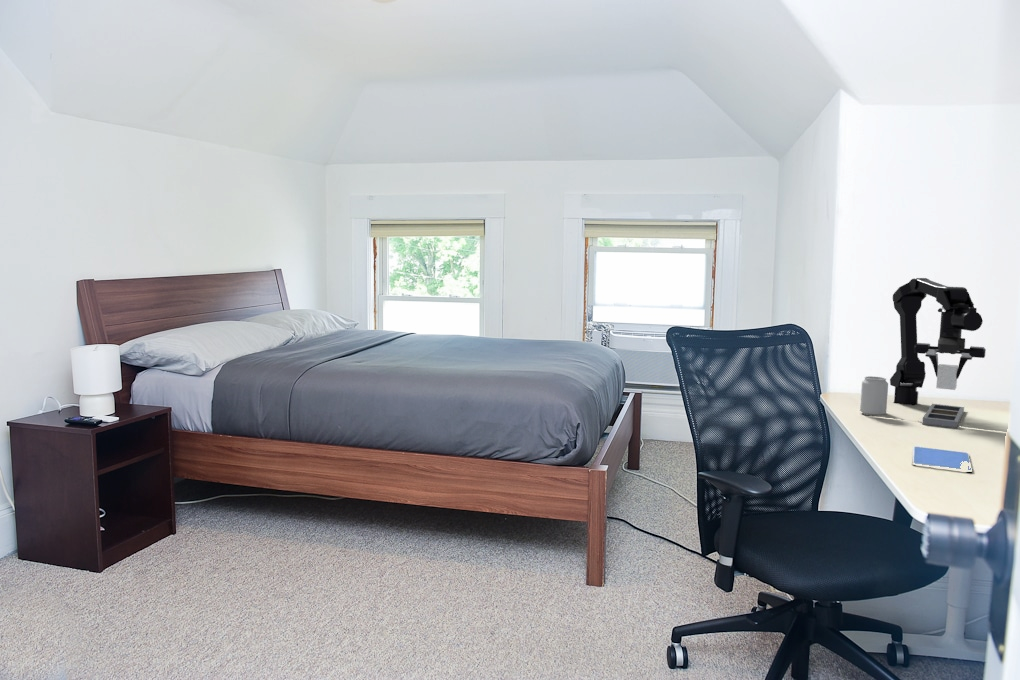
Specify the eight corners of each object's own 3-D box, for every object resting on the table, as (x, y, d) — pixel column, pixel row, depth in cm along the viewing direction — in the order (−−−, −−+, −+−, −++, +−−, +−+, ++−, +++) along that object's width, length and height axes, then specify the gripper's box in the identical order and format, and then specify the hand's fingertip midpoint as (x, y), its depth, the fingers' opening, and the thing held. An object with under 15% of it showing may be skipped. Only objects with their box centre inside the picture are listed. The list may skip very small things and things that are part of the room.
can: (880, 412, 235) (882, 375, 234) (890, 417, 228) (892, 379, 227) (856, 411, 236) (858, 375, 235) (865, 416, 229) (867, 379, 227)
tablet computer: (912, 450, 190) (912, 445, 190) (969, 457, 184) (969, 451, 184) (911, 468, 174) (911, 462, 174) (973, 476, 168) (973, 470, 167)
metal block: (936, 388, 225) (937, 365, 224) (937, 385, 229) (939, 364, 228) (955, 389, 222) (956, 367, 221) (956, 387, 226) (958, 365, 226)
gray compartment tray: (922, 424, 218) (922, 417, 218) (931, 409, 240) (932, 403, 240) (957, 428, 213) (957, 421, 213) (963, 413, 235) (964, 407, 235)
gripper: (913, 327, 222) (909, 378, 224) (985, 331, 212) (981, 384, 213) (917, 325, 232) (914, 373, 233) (987, 329, 221) (983, 379, 223)
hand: (947, 377), depth 225 cm, fingers closed on metal block, 5 cm apart
